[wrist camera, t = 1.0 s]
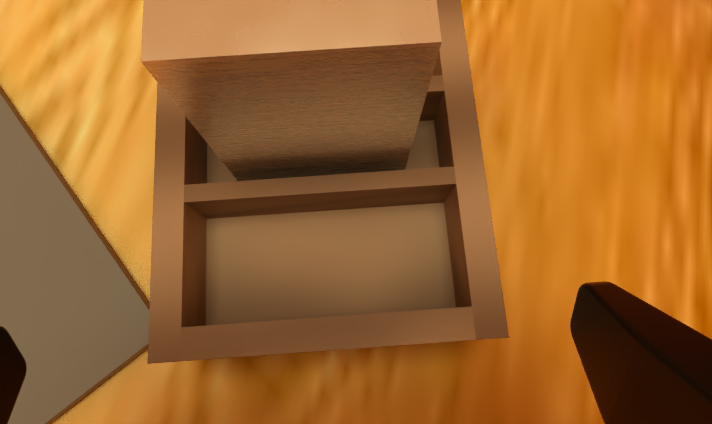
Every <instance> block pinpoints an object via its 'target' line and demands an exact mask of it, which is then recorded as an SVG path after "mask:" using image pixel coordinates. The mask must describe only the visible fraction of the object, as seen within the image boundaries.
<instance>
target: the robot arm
mask: <svg viewBox="0 0 712 424" xmlns="http://www.w3.org/2000/svg"><path fill="white" fill-rule="evenodd" d="M570 327H571V334H572V337H573V340H574V343H575V345H576V348H577V351H578V353H579V356H580V359H581V362H582V364H583V367H584V370H585V372H586V375H587V378H588V381H589V383H590V386H591V389H592V391H593V394H594V397H595V399H596V402H597V405H598V408H599V410H600V413H601V415H602V418H603V420H604V423H605V424H712V339H710V338H708V337H706V336H705V335H703V334H701V333H699V332H698V331H696V330H694V329H692V328H691V327H689V326H687V325H685V324H683V323H682V322H680V321H678V320H676V319H675V318H673V317H671V316H669V315H668V314H666V313H664V312H662V311H661V310H659V309H657V308H655V307H654V306H652V305H650V304H648V303H646V302H645V301H643V300H641V299H639V298H638V297H636V296H634V295H632V294H631V293H629V292H627V291H625V290H624V289H622V288H620V287H618V286H617V285H615V284H613V283H611V282H591V283H585V284H582V285H581V286H580V288H579V290H578V293H577V297H576V302H575V306H574V310H573V314H572V318H571V325H570ZM26 371H27V365H26V361H25V359H24V357H23V355H22V354H21V352H20V350H19V349H18V347H17V345H16V344H15V342H14V340H13V339H12V337H11V335H10V334H9V332H8V331H7V329H5V328H4V327H2V326H0V424H8V421H9V419H10V416H11V414H12V411H13V408H14V406H15V403H16V400H17V398H18V395H19V392H20V390H21V387H22V385H23V382H24V379H25V376H26Z"/></svg>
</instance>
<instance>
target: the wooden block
mask: <svg viewBox="0 0 712 424" xmlns="http://www.w3.org/2000/svg"><path fill="white" fill-rule="evenodd" d="M441 43H442V39H441V31H440V23H439V16H438V8H437V0H144V6H143V28H142V50H141V62H142V63H143V65H144V66H145V67H146V68H147V69H148V71H149V72H150V73H151V74H152V76H153V77H154V78H155V79H156V81H157V82H158V83H159V84H160V85H161V87H162V88H163V89H164V90H165V92H166V93H167V94H168V95H169V97H170V98H171V99H172V100H173V102H174V103H175V104H176V105H177V106H178V108H179V109H180V110H181V111H182V113H183V114H184V115H185V116H186V118H187V119H188V120H189V121H190V123H191V124H192V125H193V126H194V127H195V129H196V130H197V131H198V132H199V134H200V135H201V136H202V137H203V139H204V140H205V141H206V142H207V144H208V145H209V146H210V147H211V148H212V150H213V151H214V152H215V153H216V155H217V156H218V157H219V158H220V160H221V161H222V162H223V163H224V164H225V166H226V167H227V168H228V169H229V171H230V172H231V173H232V174H233V176H234V177H235V178H236V179H237V181H249V180H263V179H278V178H293V177H307V176H322V175H337V174H351V173H366V172H381V171H395V170H405V168H406V164H407V161H408V157H409V154H410V150H411V147H412V143H413V140H414V137H415V133H416V130H417V126H418V123H419V119H420V116H421V112H422V109H423V105H424V102H425V98H426V95H427V92H428V88H429V85H430V81H431V78H432V74H433V71H434V67H435V64H436V60H437V57H438V53H439V50H440V47H441Z"/></svg>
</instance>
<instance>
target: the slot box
mask: <svg viewBox="0 0 712 424" xmlns="http://www.w3.org/2000/svg"><path fill="white" fill-rule="evenodd" d="M437 8H438V16H439V23H440V31H441V39H442V43H441V47H440V50H439V53H438V57H437V60H436V64H435V67H434V71H433V74H432V78H431V81H430V85H429V88H428V92H427V95H426V98H425V102H424V105H423V109H422V112H421V116H420V119H419V123H418V126H417V130H416V133H415V137H414V140H413V143H412V147H411V150H410V154H409V157H408V161H407V164H406V168H405V170H395V171H381V172H366V173H351V174H337V175H322V176H307V177H293V178H278V179H263V180H249V181H237V179H236V178H235V177H234V176H233V174H232V173H231V172H230V171H229V169H228V168H227V167H226V166H225V164H224V163H223V162H222V161H221V160H220V158H219V157H218V156H217V155H216V153H215V152H214V151H213V150H212V148H211V147H210V146H209V145H208V144H207V142H206V141H205V140H204V139H203V137H202V136H201V135H200V134H199V132H198V131H197V130H196V129H195V127H194V126H193V125H192V124H191V123H190V121H189V120H188V119H187V118H186V116H185V115H184V114H183V113H182V111H181V110H180V109H179V108H178V106H177V105H176V104H175V103H174V102H173V100H172V99H171V98H170V97H169V95H168V94H167V93H166V92H165V90H164V89H163V88H162V87H161V85H160V84H159V83H158V84H157V112H156V141H155V169H154V197H153V225H152V253H151V281H150V309H149V337H148V364H149V363H163V362H177V361H191V360H205V359H218V358H232V357H246V356H260V355H274V354H287V353H301V352H315V351H329V350H343V349H356V348H370V347H384V346H398V345H411V344H425V343H439V342H453V341H467V340H480V339H494V338H508V337H509V336H508V329H507V322H506V315H505V308H504V301H503V294H502V287H501V280H500V273H499V266H498V259H497V252H496V245H495V238H494V231H493V224H492V217H491V210H490V203H489V196H488V189H487V182H486V175H485V168H484V161H483V154H482V147H481V140H480V134H479V127H478V120H477V113H476V106H475V99H474V92H473V85H472V78H471V71H470V64H469V57H468V50H467V43H466V36H465V29H464V22H463V15H462V8H461V1H460V0H437Z"/></svg>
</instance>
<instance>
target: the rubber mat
mask: <svg viewBox="0 0 712 424" xmlns="http://www.w3.org/2000/svg"><path fill="white" fill-rule="evenodd" d="M149 309H150V302H149V301H148V300H147V298H146V297H145V295H144V294H143V292H142V291H141V289H140V288H139V287H138V285H137V284H136V282H135V281H134V279H133V278H132V276H131V275H130V274H129V272H128V271H127V269H126V268H125V266H124V265H123V263H122V262H121V261H120V259H119V258H118V256H117V255H116V253H115V252H114V250H113V249H112V247H111V246H110V245H109V243H108V242H107V240H106V239H105V237H104V236H103V234H102V233H101V232H100V230H99V229H98V227H97V226H96V224H95V223H94V221H93V220H92V219H91V217H90V216H89V214H88V213H87V211H86V210H85V208H84V207H83V205H82V204H81V203H80V201H79V200H78V198H77V197H76V195H75V194H74V192H73V191H72V190H71V188H70V187H69V185H68V184H67V182H66V181H65V179H64V178H63V177H62V175H61V174H60V172H59V171H58V169H57V168H56V166H55V165H54V163H53V162H52V161H51V159H50V158H49V156H48V155H47V153H46V152H45V150H44V149H43V148H42V146H41V145H40V143H39V142H38V140H37V139H36V137H35V136H34V135H33V133H32V132H31V130H30V129H29V127H28V126H27V124H26V123H25V121H24V120H23V119H22V117H21V116H20V114H19V113H18V111H17V110H16V108H15V107H14V106H13V104H12V103H11V101H10V100H9V98H8V97H7V95H6V94H5V93H4V91H3V90H2V88H1V87H0V326H2V327H4V328H5V329H7V331H8V332H9V334H10V335H11V337H12V339H13V340H14V342H15V344H16V345H17V347H18V349H19V350H20V352H21V354H22V355H23V357H24V359H25V361H26V365H27V371H26V376H25V379H24V382H23V385H22V387H21V390H20V392H19V395H18V398H17V400H16V403H15V406H14V408H13V411H12V414H11V416H10V419H9V421H8V424H51V423H52V422H54V421H55V420H56V419H58V418H59V417H60V416H62V415H63V414H64V413H65V412H67V411H68V410H69V409H71V408H72V407H73V406H74V405H76V404H77V403H78V402H80V401H81V400H82V399H83V398H85V397H86V396H87V395H89V394H90V393H91V392H92V391H94V390H95V389H96V388H98V387H99V386H100V385H101V384H103V383H104V382H105V381H107V380H108V379H109V378H110V377H112V376H113V375H114V374H116V373H117V372H118V371H119V370H121V369H122V368H123V367H125V366H126V365H127V364H128V363H130V362H131V361H132V360H134V359H135V358H136V357H137V356H139V355H140V354H141V353H143V352H144V351H145V350H146V349H148V337H149Z"/></svg>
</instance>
